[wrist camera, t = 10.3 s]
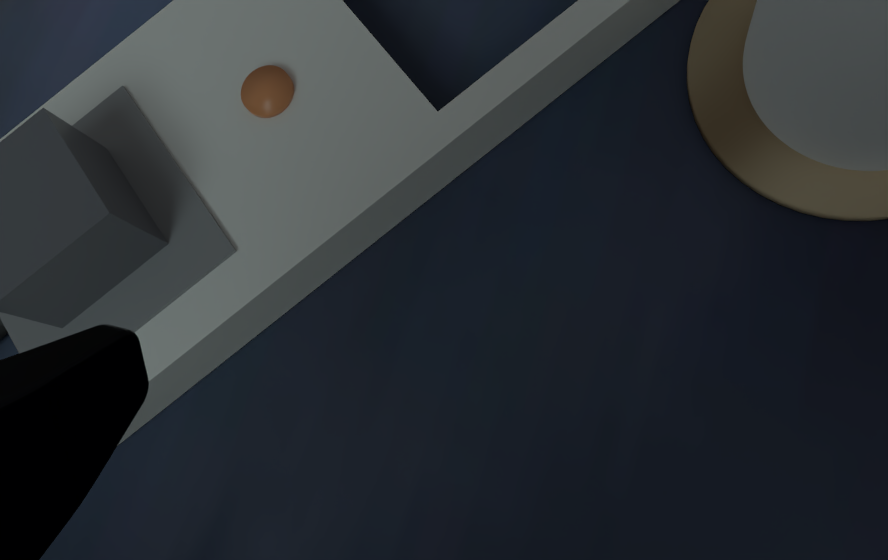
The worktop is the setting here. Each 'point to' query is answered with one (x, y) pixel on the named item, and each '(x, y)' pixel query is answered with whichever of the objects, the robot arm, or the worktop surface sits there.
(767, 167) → the cork coaster
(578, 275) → the worktop surface
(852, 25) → the can
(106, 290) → the block
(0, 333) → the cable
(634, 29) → the strip dock
